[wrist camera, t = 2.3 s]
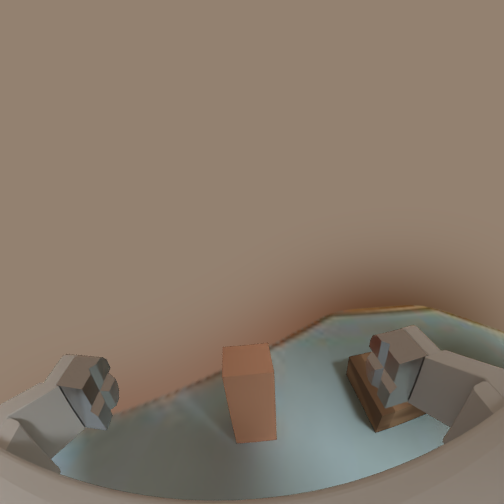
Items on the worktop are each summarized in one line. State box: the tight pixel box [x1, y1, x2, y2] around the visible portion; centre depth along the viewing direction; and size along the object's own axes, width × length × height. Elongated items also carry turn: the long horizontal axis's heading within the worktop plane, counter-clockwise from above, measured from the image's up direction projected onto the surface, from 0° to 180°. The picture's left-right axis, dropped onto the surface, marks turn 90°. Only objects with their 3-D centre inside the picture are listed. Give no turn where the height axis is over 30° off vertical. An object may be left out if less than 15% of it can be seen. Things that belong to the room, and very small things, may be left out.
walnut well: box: [346, 352, 426, 432], centre depth 26 cm, size 10×10×3 cm
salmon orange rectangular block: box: [222, 343, 277, 443], centre depth 23 cm, size 4×4×10 cm
